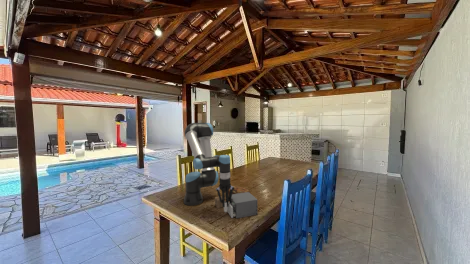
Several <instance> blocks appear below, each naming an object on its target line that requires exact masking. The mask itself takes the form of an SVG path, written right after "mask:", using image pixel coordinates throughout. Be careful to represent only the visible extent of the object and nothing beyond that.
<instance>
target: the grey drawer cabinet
mask: <svg viewBox="0 0 470 264" xmlns="http://www.w3.org/2000/svg"><path fill="white" fill-rule="evenodd" d="M249 192H250V191H249ZM249 192H245V193H238V194H232V197H231V201H229V203H230V204H231V205H232V203H233V204H234V206H235V207H236V216H235V218H236V219H242V218H246V217H250V216H251V217H252V216H256V215H258V199H257V198H256V197H255V196H254V195H253V194H252V193H251V192H250V193H249Z"/></svg>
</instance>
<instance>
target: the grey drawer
mask: <svg viewBox="0 0 470 264" xmlns="http://www.w3.org/2000/svg"><path fill="white" fill-rule="evenodd" d="M226 213H228V214H229V216H230V218H231V219H233V218H234V217H235V218H236V207H235V206H232V205H231V204H230V202H229V203H228V207H227V212H226Z"/></svg>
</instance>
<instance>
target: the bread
mask: <svg viewBox="0 0 470 264" xmlns="http://www.w3.org/2000/svg"><path fill="white" fill-rule="evenodd" d="M232 186H233V187H234V190H233V193H232V194H238V193H245V192H249V193H250V194H251V192H250V190H249V189H247V188H245V187H241V186H235V185H232ZM229 193H230V189H229V190H228V197H229ZM225 198H226V191H225Z"/></svg>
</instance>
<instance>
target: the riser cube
mask: <svg viewBox="0 0 470 264" xmlns="http://www.w3.org/2000/svg"><path fill="white" fill-rule="evenodd" d="M221 199H222V195H221ZM214 205H215V207H216V208H217V209H221V208H224V207H223V206H222V203H221V202H220V200H219V196H215V198H214Z"/></svg>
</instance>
